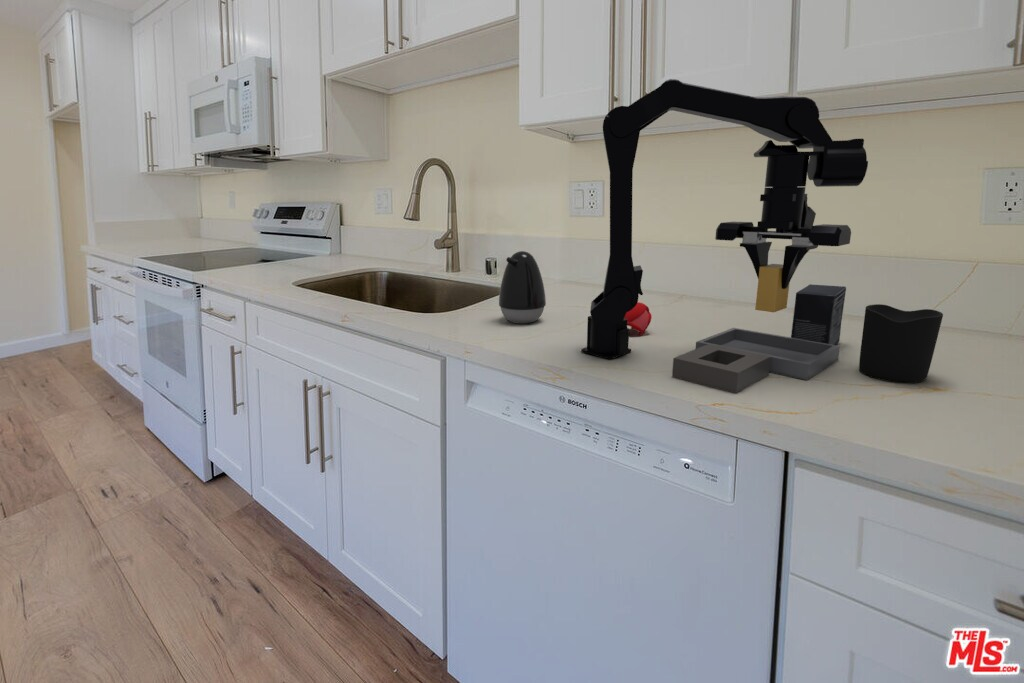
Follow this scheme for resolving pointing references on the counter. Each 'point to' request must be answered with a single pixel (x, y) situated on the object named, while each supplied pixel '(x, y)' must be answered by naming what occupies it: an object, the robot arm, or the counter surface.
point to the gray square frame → (721, 367)
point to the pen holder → (898, 343)
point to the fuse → (771, 289)
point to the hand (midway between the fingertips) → (773, 287)
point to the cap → (639, 318)
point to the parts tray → (779, 351)
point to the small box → (818, 313)
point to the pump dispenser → (522, 289)
